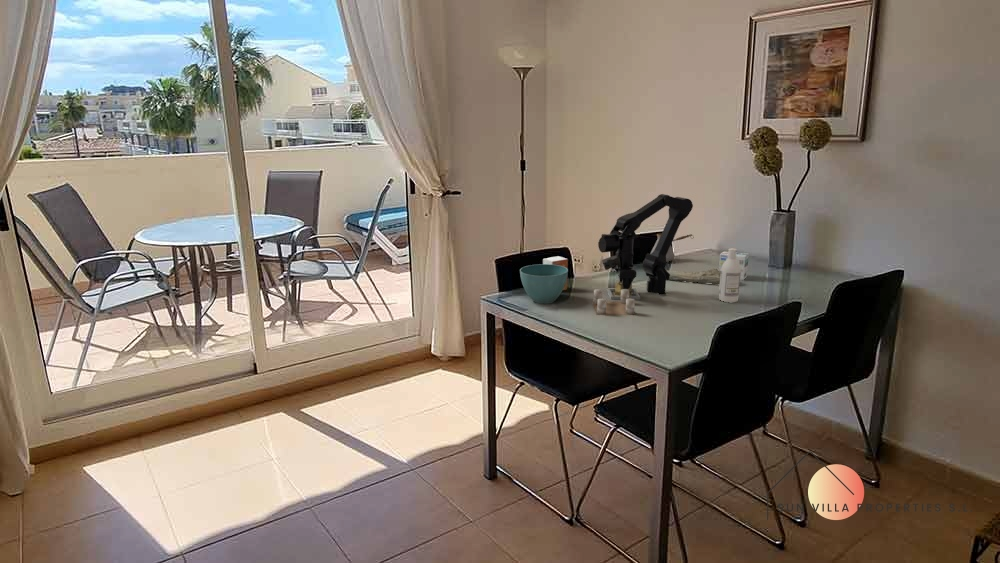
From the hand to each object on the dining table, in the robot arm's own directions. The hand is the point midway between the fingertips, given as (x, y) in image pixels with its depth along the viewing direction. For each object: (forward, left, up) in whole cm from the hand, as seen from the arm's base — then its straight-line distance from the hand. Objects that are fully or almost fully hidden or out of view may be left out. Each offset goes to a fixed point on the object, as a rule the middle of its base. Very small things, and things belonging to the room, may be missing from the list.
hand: (623, 289), depth 240 cm
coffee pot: (-31, -57, -3) cm, 65 cm away
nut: (0, 0, -3) cm, 3 cm away
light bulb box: (-51, -29, -4) cm, 59 cm away
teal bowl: (+31, +4, -3) cm, 31 cm away
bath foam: (-39, +4, -3) cm, 39 cm away
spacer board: (+6, +16, -3) cm, 17 cm away
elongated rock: (-34, -24, -4) cm, 42 cm away
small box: (+26, -11, -3) cm, 28 cm away
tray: (0, 0, -3) cm, 3 cm away
